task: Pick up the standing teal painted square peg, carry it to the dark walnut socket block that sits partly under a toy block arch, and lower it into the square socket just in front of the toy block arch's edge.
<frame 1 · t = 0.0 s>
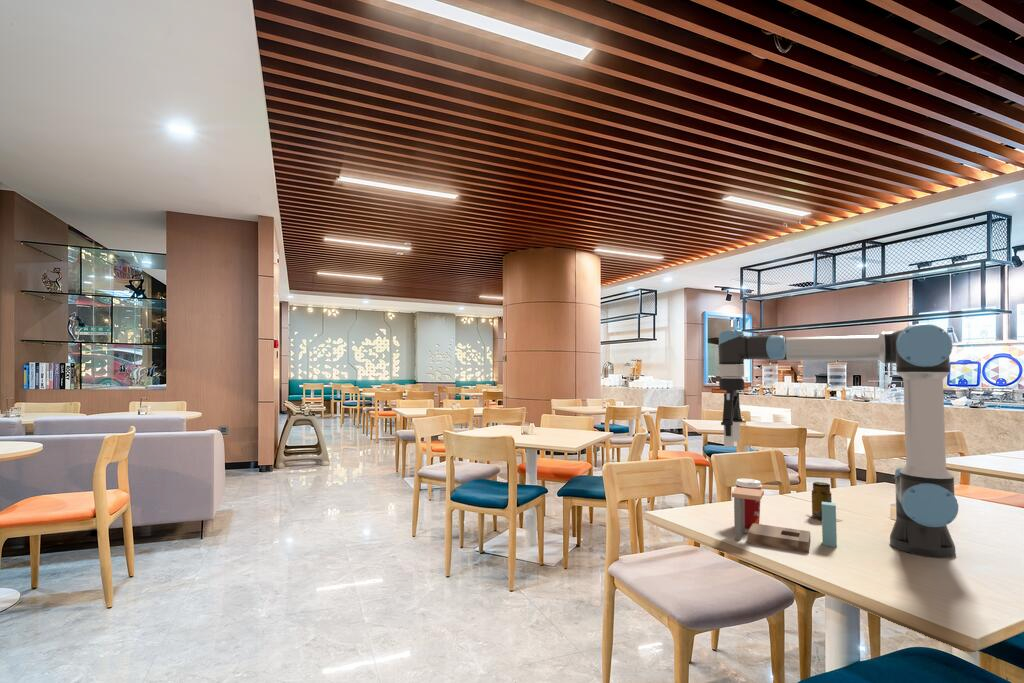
hand: (732, 444, 170), 28 cm above the table, fingers open, 13 cm apart
socket block: (779, 542, 159), on the table
peg: (829, 544, 157), on the table
toy block arch: (748, 537, 163), on the table
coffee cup: (749, 526, 175), on the table
condiment: (823, 518, 186), on the table
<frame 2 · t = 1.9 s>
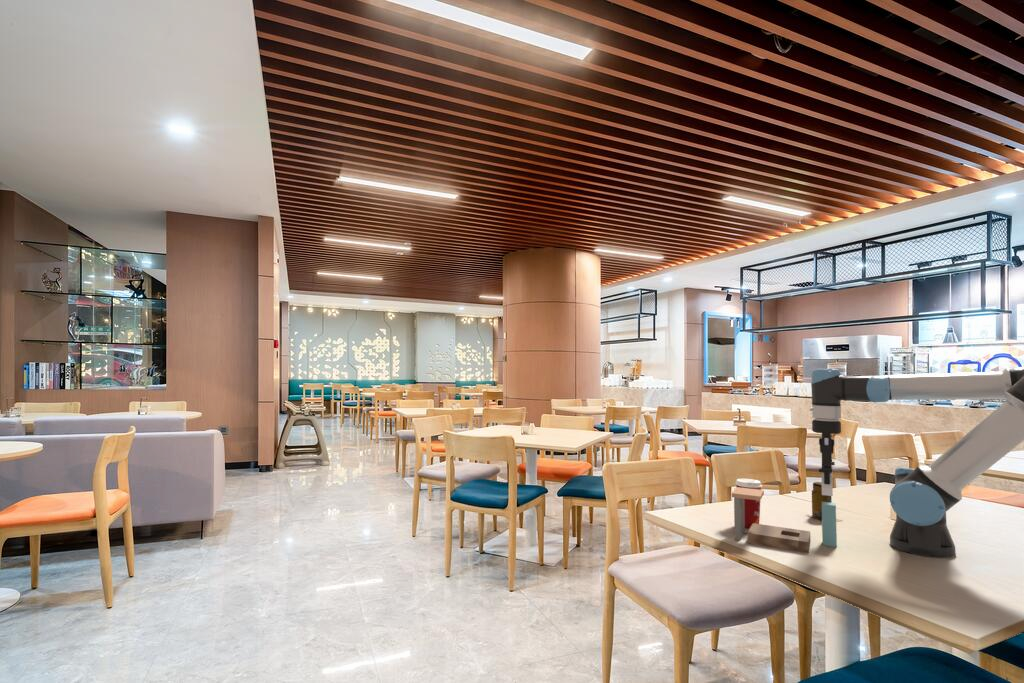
hand: (827, 490, 158), 16 cm above the table, fingers open, 13 cm apart
nothing on the table moved.
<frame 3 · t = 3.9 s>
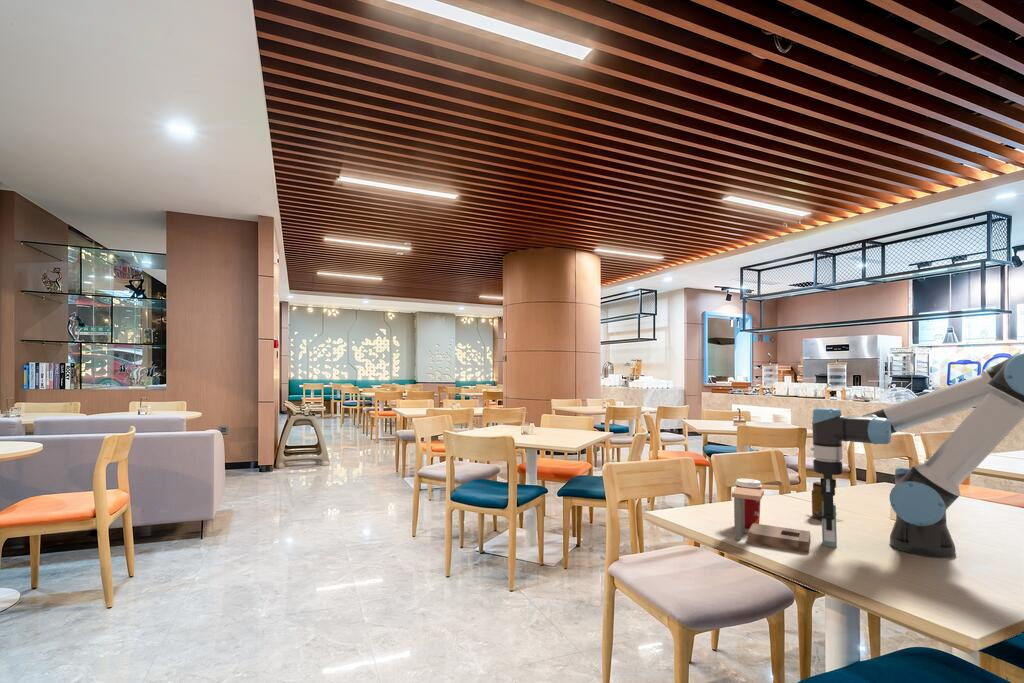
hand: (829, 538, 157), 2 cm above the table, fingers closed on peg, 4 cm apart
peg: (829, 544, 157), on the table, touching gripper
everything else where it was.
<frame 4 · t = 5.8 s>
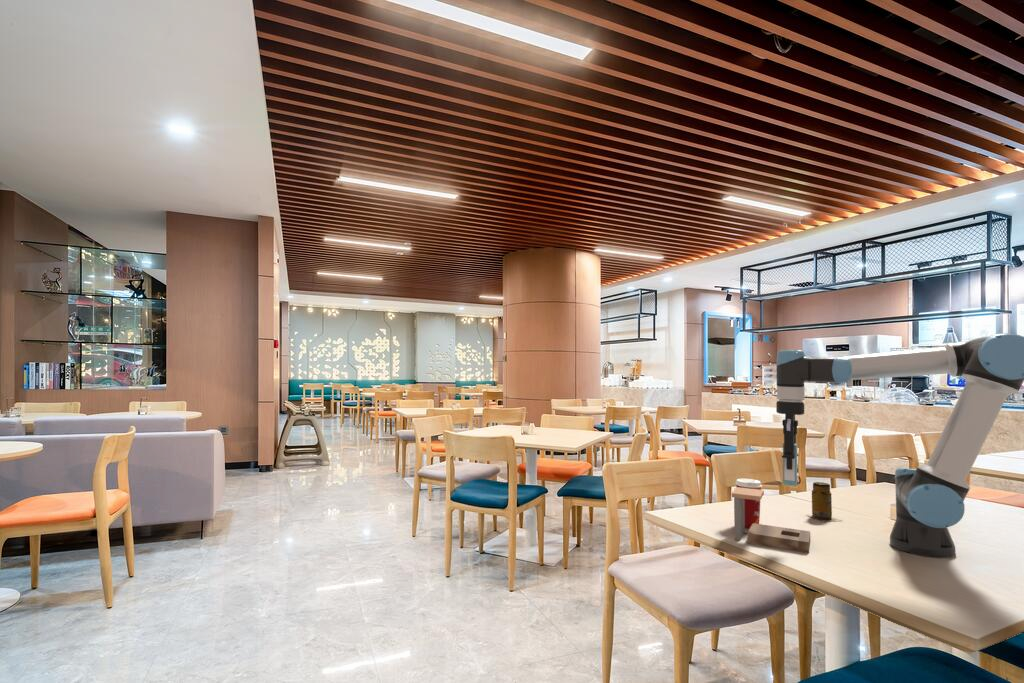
hand: (790, 478, 159), 19 cm above the table, fingers closed on peg, 4 cm apart
peg: (790, 484, 159), point 18 cm above the table, touching gripper
everything else where it was.
when the fingers open (4 cm above the table, at t = 8.0 s): peg drops 2 cm, resting in socket block.
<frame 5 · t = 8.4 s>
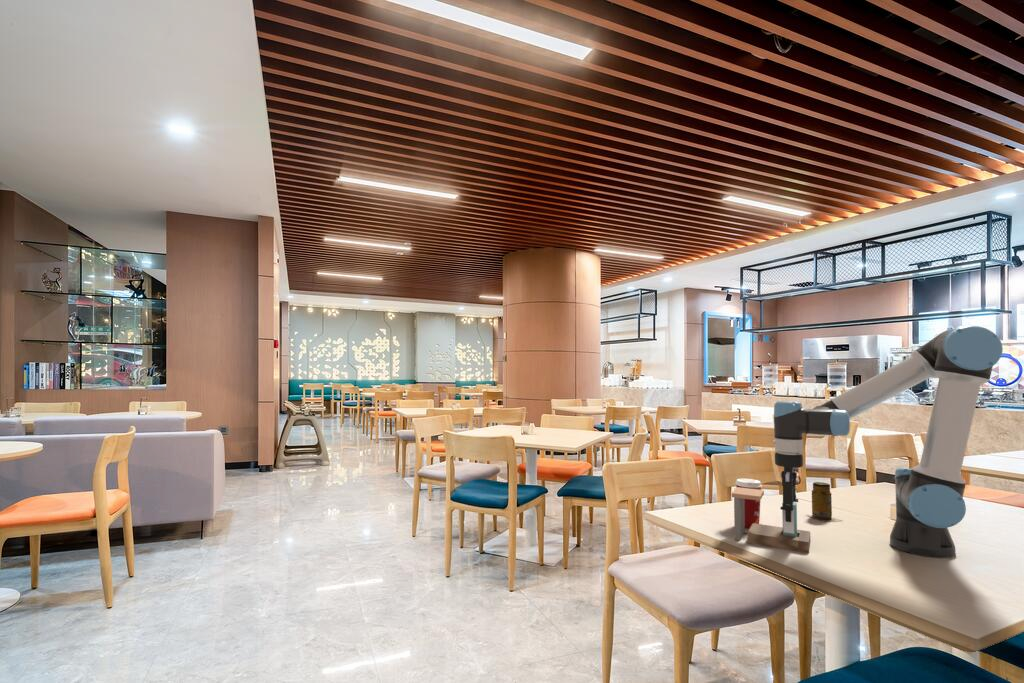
hand: (790, 528, 158), 5 cm above the table, fingers open, 10 cm apart
peg: (790, 544, 157), resting in socket block
everything else where it was.
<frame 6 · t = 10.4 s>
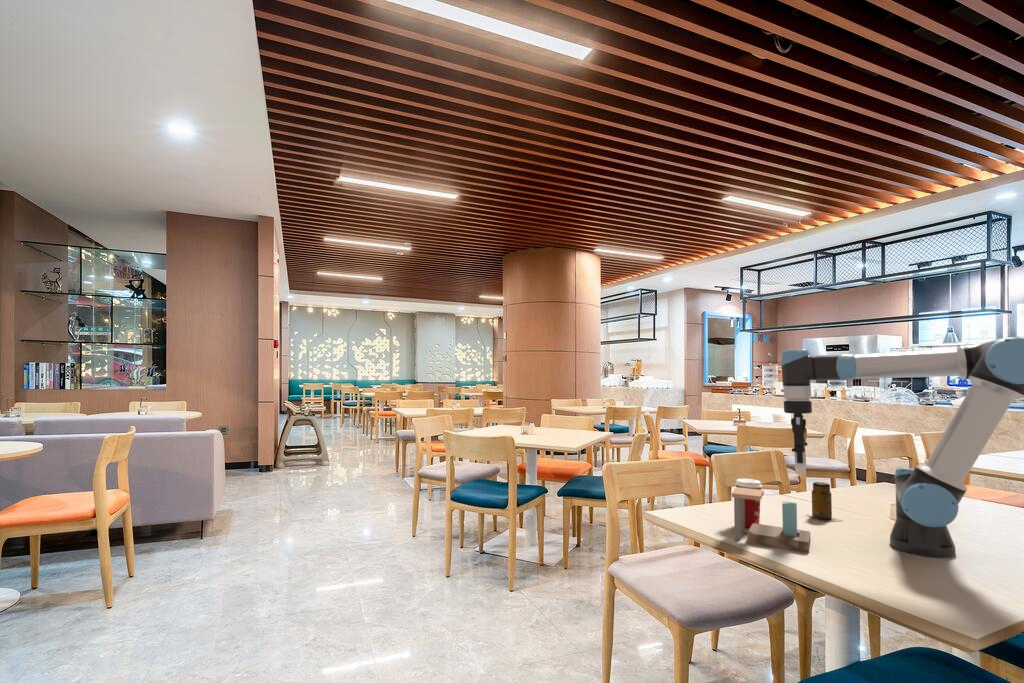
hand: (801, 470, 159), 22 cm above the table, fingers open, 13 cm apart
nothing on the table moved.
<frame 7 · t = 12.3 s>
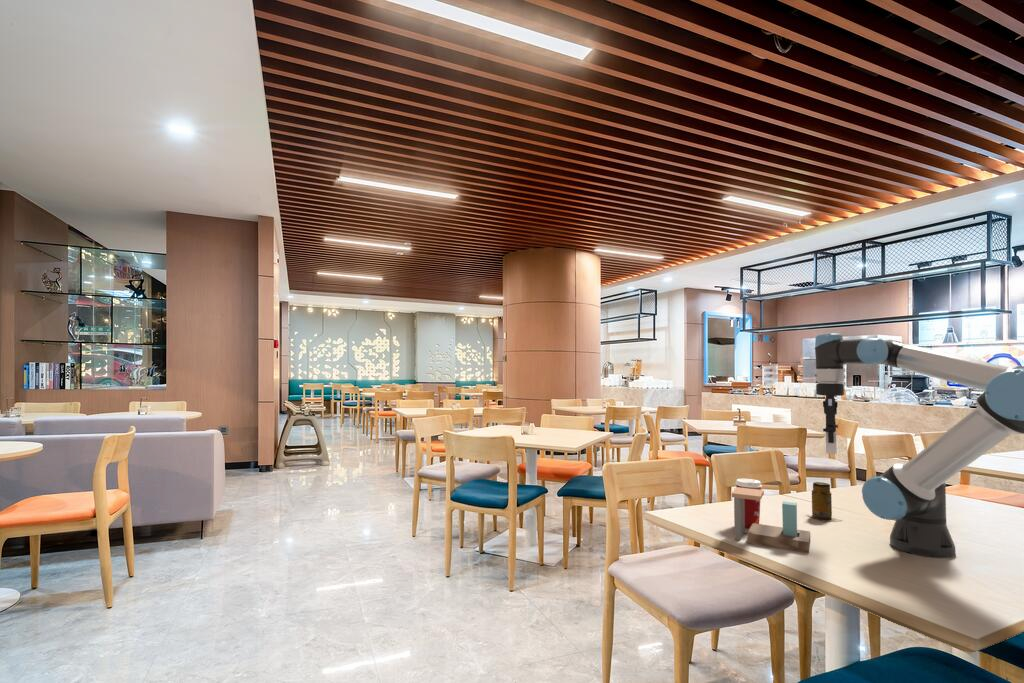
hand: (831, 450, 165), 27 cm above the table, fingers open, 13 cm apart
nothing on the table moved.
at the end: peg 0.0 cm from the target spot in the socket block, point 0.0 cm above the socket block's base; peg tilted 0°; the gripper is holding nothing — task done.
